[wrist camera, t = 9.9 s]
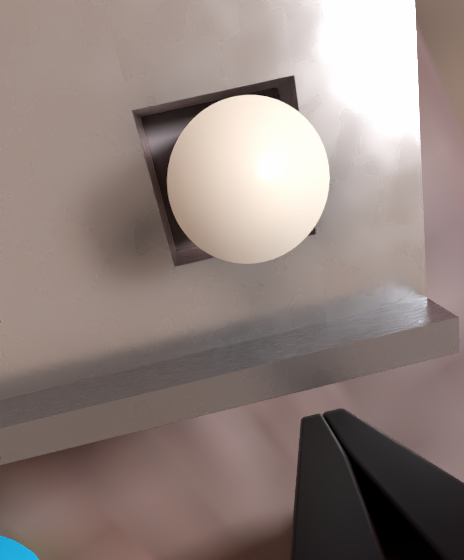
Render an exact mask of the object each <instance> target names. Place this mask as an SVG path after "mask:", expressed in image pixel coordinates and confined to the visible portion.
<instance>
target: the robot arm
mask: <svg viewBox="0 0 464 560" xmlns="http://www.w3.org/2000/svg"><path fill="white" fill-rule="evenodd" d="M290 560H464V483H463V482H461V481H460V480H458V479H456V478H455V477H453V476H452V475H450V474H448V473H447V472H445V471H444V470H442V469H440V468H439V467H437V466H436V465H434V464H432V463H431V462H429V461H427V460H426V459H424V458H423V457H421V456H419V455H418V454H416V453H415V452H413V451H411V450H410V449H408V448H407V447H405V446H403V445H402V444H400V443H398V442H397V441H395V440H394V439H392V438H390V437H389V436H387V435H386V434H384V433H382V432H381V431H379V430H378V429H376V428H374V427H373V426H371V425H369V424H368V423H366V422H365V421H363V420H361V419H360V418H358V417H357V416H355V415H353V414H352V413H350V412H349V411H347V410H345V409H336V410H332V411H328V412H325V413H324V414H323V415H321V414H315V415H311V416H307V417H303V418H302V419H301V427H300V439H299V452H298V464H297V477H296V489H295V502H294V514H293V527H292V539H291V552H290Z"/></svg>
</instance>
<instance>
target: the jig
mask: <svg viewBox="0 0 464 560" xmlns="http://www.w3.org/2000/svg"><path fill="white" fill-rule="evenodd" d="M275 87H278V92H279V98H280V101H282V102H284V103H286V104H288V105H290V106H291V107H293V108H294V109H296V110H297V111H298V112H299V113H301V114H302V115H303V116H304V117H305V118H306V119H307V120H308V121H309V122H310V124H311V125H312V126H313V127H314V129H315V130H316V132H317V133H318V135H319V137H320V139H321V141H322V143H323V145H324V148H325V151H326V154H327V158H328V164H329V174H330V181H329V191H328V196H327V201H326V204H325V207H324V210H323V212H322V214H321V216H320V219H319V220H318V222H317V224H316V225H315V227H314V228H313V230H312V231H311V232H310V233H309V235H308V236H307V237H306V238H305V239H304V240H303V241H302V242H301V243H300V244H299V245H297V246H296V247H295V248H293V249H292V250H291V251H289V252H287V253H286V254H284V255H282V256H280V257H277V258H275V259H272V260H269V261H266V262H260V263H254V264H240V263H232V262H228V261H224V260H221V259H218V258H216V257H214V256H212V255H210V254H208V253H206V252H205V251H203V250H202V249H200V248H199V247H198V246H194V247H190V248H186V249H181V250H177V251H176V247H175V243H174V240H173V236H172V232H171V228H170V225H169V221H168V217H167V213H166V210H165V206H164V202H163V198H162V195H161V191H160V187H159V183H158V180H157V176H156V172H155V168H154V165H153V161H152V157H151V153H150V150H149V146H148V142H147V138H146V135H145V131H144V127H143V123H142V120H141V117H142V116H147V115H151V114H156V113H161V112H165V111H170V110H174V109H179V108H184V107H188V106H193V105H197V104H202V103H206V102H211V101H216V100H220V99H225V98H229V97H233V96H239V95H243V94H248V93H252V92H257V91H261V90H266V89H271V88H275ZM455 353H459V317H457V316H456V315H454V314H452V313H451V312H449V311H448V310H446V309H444V308H443V307H441V306H439V305H438V304H436V303H435V302H433V301H431V300H430V299H428V298H427V290H426V266H425V242H424V218H423V194H422V169H421V145H420V121H419V97H418V73H417V49H416V25H415V3H414V0H0V465H3V464H7V463H11V462H16V461H20V460H24V459H28V458H32V457H36V456H40V455H44V454H48V453H52V452H56V451H60V450H64V449H68V448H72V447H77V446H81V445H85V444H89V443H93V442H97V441H101V440H105V439H109V438H113V437H117V436H121V435H125V434H129V433H133V432H138V431H142V430H146V429H150V428H154V427H158V426H162V425H166V424H170V423H174V422H178V421H182V420H186V419H190V418H194V417H199V416H203V415H207V414H211V413H215V412H219V411H223V410H227V409H231V408H235V407H239V406H243V405H247V404H251V403H256V402H260V401H264V400H268V399H272V398H276V397H280V396H284V395H288V394H292V393H296V392H300V391H304V390H308V389H312V388H317V387H321V386H325V385H329V384H333V383H337V382H341V381H345V380H349V379H353V378H357V377H361V376H365V375H369V374H373V373H378V372H382V371H386V370H390V369H394V368H398V367H402V366H406V365H410V364H414V363H418V362H422V361H426V360H430V359H434V358H439V357H443V356H447V355H451V354H455Z"/></svg>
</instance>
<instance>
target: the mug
mask: <svg viewBox="0 0 464 560" xmlns="http://www.w3.org/2000/svg"><path fill="white" fill-rule="evenodd" d="M0 560H39V559H38V558H37V557H36V555H35V554H34V553H33V552H32V551H30V550H29V549H27V548H25V547H24V546H22V545H21V544H19V543H18V542H16V541H14V540H11V539H8V538H5V537H2V536H0Z"/></svg>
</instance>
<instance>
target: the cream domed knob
mask: <svg viewBox="0 0 464 560" xmlns="http://www.w3.org/2000/svg"><path fill="white" fill-rule="evenodd" d="M329 181H330V174H329V164H328V158H327V154H326V151H325V148H324V145H323V143H322V141H321V139H320V137H319V135H318V133H317V132H316V130H315V129H314V127H313V126H312V125H311V124H310V122H309V121H308V120H307V119H306V118H305V117H304V116H303V115H302V114H301V113H299V112H298V111H297V110H296V109H294V108H293V107H291V106H290V105H288V104H286V103H284V102H282V101H279V100H277V99H274V98H270V97H267V96H260V95H240V96H233V97H230V98H226V99H223V100H221V101H218V102H216V103H214V104H212V105H210V106H209V107H207V108H206V109H204V110H202V111H201V112H200V113H199V114H198V115H196V116H195V117H194V118H193V119H192V120H191V121H190V122H189V124H188V125H187V126H186V127H185V128H184V130H183V131H182V133H181V134H180V136H179V138H178V140H177V142H176V144H175V146H174V148H173V151H172V154H171V157H170V160H169V165H168V172H167V190H168V197H169V202H170V205H171V208H172V211H173V214H174V216H175V218H176V220H177V223H178V224H179V226H180V227H181V229H182V230H183V232H184V233H185V234H186V235H187V237H188V238H189V239H190V240H191V241H192V242H193V243H194V244H195V245H196V246H198V247H199V248H200V249H202V250H203V251H205V252H206V253H208V254H210V255H212V256H214V257H216V258H218V259H221V260H224V261H228V262H232V263H240V264H254V263H260V262H266V261H269V260H272V259H275V258H277V257H280V256H282V255H284V254H286V253H287V252H289V251H291V250H292V249H293V248H295V247H296V246H297V245H299V244H300V243H301V242H302V241H303V240H304V239H305V238H306V237H307V236H308V235H309V233H310V232H311V231H312V230H313V228H314V227H315V225H316V224H317V222H318V220H319V219H320V216H321V214H322V212H323V210H324V207H325V204H326V201H327V196H328V191H329Z"/></svg>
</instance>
